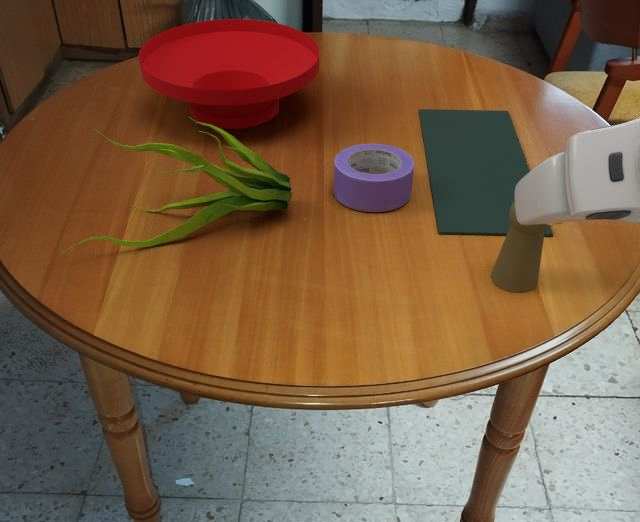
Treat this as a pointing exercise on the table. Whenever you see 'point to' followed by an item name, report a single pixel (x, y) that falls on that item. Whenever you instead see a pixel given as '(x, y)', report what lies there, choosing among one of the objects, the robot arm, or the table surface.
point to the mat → (472, 169)
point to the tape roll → (373, 177)
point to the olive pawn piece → (519, 256)
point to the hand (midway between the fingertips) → (589, 213)
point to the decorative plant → (244, 185)
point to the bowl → (230, 68)
